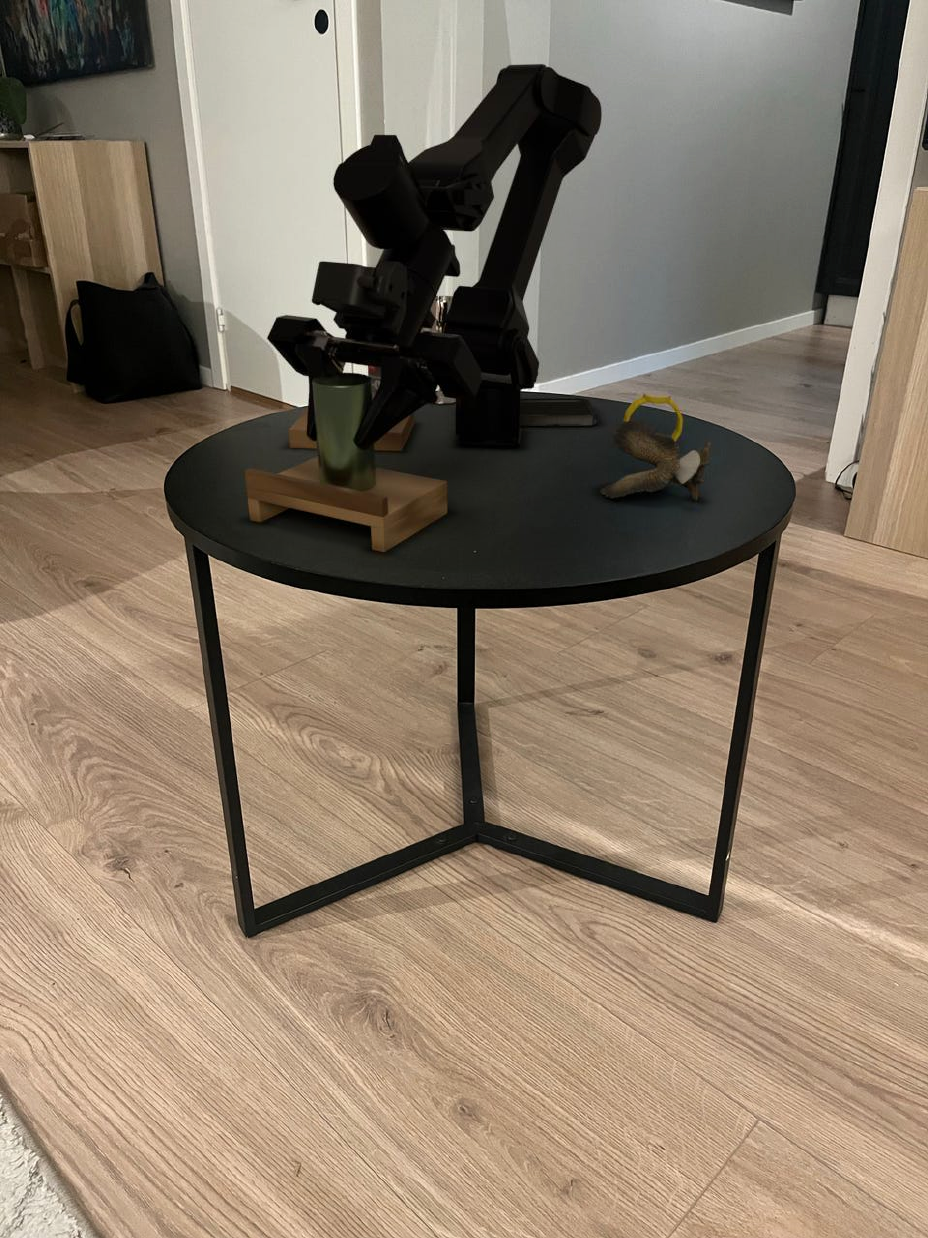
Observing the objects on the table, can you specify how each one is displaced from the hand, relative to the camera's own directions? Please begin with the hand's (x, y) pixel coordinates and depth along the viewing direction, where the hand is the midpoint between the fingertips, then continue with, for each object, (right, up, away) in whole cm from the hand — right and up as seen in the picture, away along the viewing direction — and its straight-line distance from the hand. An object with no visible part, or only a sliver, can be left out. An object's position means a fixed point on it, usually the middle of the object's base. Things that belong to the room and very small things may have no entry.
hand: (335, 443), depth 79 cm
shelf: (+1, -6, +4) cm, 7 cm away
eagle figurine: (+28, -3, +10) cm, 30 cm away
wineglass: (+8, +13, +40) cm, 43 cm away
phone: (+18, +9, +32) cm, 38 cm away
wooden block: (-1, +6, +26) cm, 26 cm away
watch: (+30, +3, +22) cm, 38 cm away
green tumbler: (+1, -3, +3) cm, 4 cm away
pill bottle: (+2, +11, +36) cm, 38 cm away
